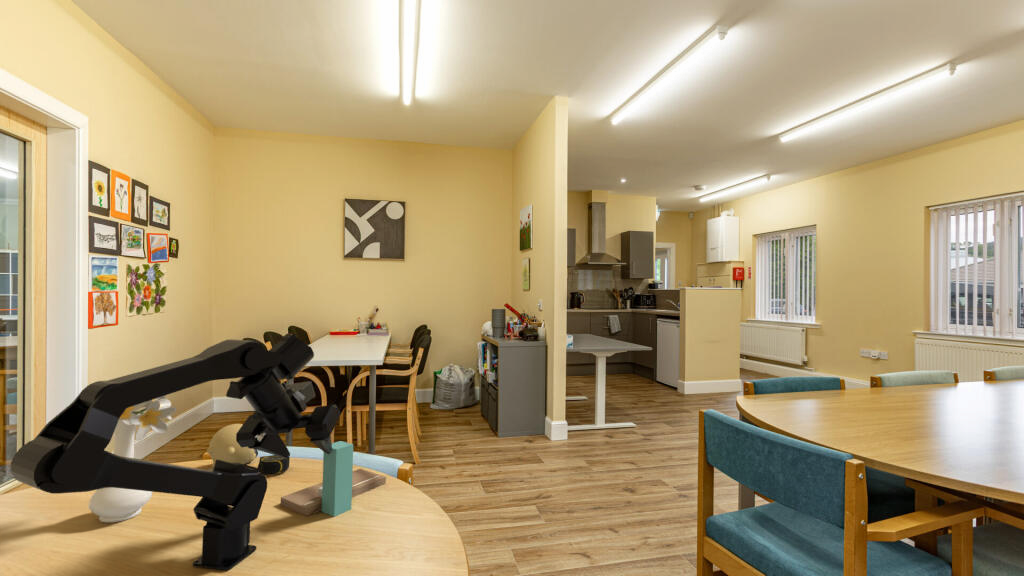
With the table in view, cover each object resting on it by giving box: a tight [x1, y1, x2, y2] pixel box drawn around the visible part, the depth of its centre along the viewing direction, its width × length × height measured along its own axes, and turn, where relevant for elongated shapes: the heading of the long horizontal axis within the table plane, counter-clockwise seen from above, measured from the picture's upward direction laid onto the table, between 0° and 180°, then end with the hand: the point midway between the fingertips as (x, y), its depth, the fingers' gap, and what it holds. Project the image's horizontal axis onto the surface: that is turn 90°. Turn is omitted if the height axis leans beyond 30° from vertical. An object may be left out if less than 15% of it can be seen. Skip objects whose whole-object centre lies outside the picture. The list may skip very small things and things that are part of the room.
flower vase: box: [88, 395, 177, 524], centre depth 88 cm, size 13×18×25 cm
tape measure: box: [257, 454, 291, 476], centre depth 111 cm, size 7×7×4 cm
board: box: [280, 468, 387, 517], centre depth 100 cm, size 20×9×2 cm, turn 147°
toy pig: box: [206, 423, 259, 468], centre depth 115 cm, size 10×12×11 cm
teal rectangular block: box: [318, 440, 354, 517], centre depth 93 cm, size 4×7×13 cm, turn 58°
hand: (309, 454), depth 89 cm, fingers open, 9 cm apart
